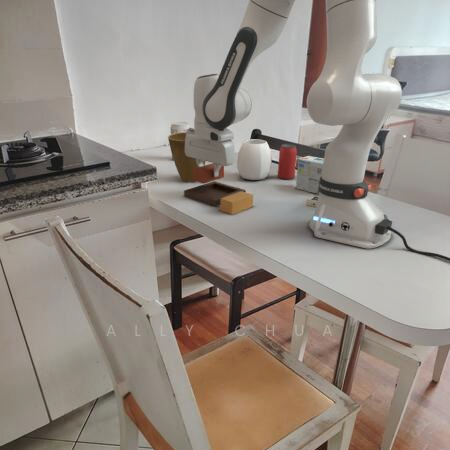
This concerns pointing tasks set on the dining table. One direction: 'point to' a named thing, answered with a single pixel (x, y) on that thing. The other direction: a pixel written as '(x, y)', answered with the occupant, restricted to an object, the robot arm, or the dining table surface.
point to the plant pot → (182, 157)
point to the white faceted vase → (254, 159)
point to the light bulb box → (309, 173)
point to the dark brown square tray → (211, 192)
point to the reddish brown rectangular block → (206, 173)
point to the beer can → (287, 161)
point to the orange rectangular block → (236, 202)
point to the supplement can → (179, 128)
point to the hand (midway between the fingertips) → (208, 174)
